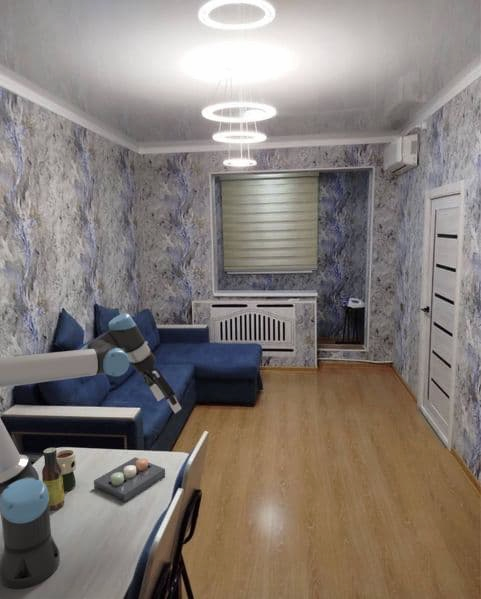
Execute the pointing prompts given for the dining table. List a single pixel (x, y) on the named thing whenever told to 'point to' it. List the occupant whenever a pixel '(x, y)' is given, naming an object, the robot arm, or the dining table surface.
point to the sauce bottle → (53, 479)
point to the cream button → (130, 471)
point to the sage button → (117, 479)
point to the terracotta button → (142, 464)
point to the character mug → (67, 467)
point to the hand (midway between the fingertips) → (169, 404)
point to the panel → (129, 481)
